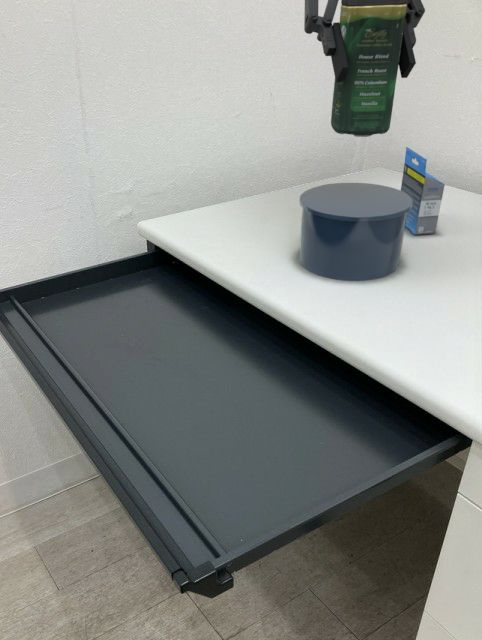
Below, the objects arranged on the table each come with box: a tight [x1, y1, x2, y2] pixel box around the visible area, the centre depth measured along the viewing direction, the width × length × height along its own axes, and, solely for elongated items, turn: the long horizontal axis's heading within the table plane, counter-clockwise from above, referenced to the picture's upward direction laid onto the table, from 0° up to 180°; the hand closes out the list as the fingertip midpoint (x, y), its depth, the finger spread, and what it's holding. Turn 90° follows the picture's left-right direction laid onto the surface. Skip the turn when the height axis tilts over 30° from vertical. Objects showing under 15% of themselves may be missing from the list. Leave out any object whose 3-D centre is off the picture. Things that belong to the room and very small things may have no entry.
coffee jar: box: [330, 0, 407, 138], centre depth 78 cm, size 10×8×19 cm
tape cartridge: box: [400, 146, 446, 236], centre depth 99 cm, size 9×4×12 cm, turn 5°
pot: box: [298, 182, 413, 282], centre depth 89 cm, size 16×16×10 cm
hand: (375, 72), depth 76 cm, fingers closed on coffee jar, 8 cm apart
